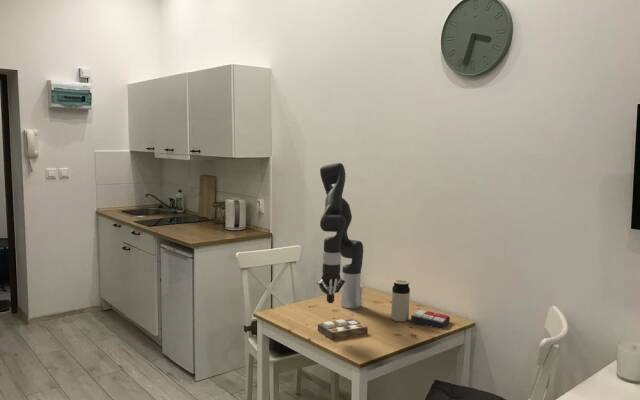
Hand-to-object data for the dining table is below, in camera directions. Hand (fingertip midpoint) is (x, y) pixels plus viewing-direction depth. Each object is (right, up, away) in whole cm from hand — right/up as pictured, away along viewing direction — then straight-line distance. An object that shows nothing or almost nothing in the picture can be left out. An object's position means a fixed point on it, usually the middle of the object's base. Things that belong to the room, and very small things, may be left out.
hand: (330, 302), depth 225 cm
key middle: (+5, -11, +4) cm, 13 cm away
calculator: (+46, -13, +19) cm, 52 cm away
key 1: (-1, -11, +1) cm, 11 cm away
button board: (+5, -13, +3) cm, 15 cm away
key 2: (+10, -12, +7) cm, 17 cm away
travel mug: (+33, -12, +23) cm, 42 cm away
